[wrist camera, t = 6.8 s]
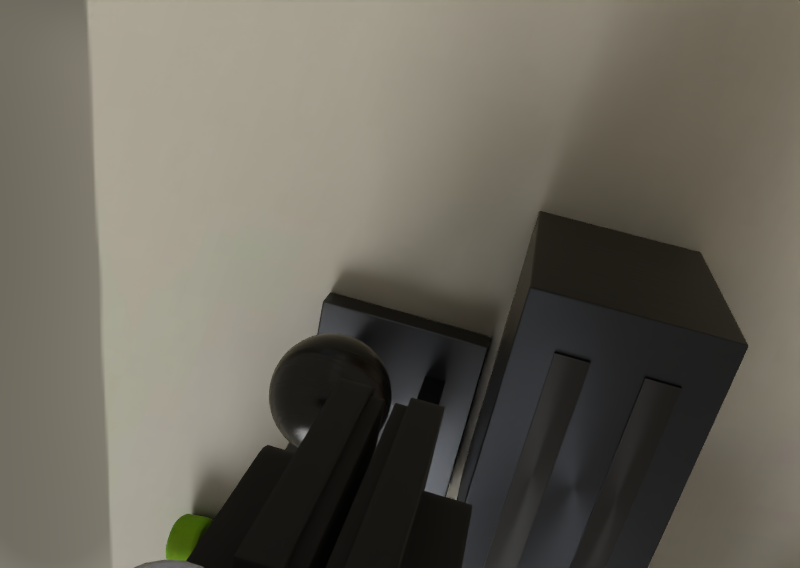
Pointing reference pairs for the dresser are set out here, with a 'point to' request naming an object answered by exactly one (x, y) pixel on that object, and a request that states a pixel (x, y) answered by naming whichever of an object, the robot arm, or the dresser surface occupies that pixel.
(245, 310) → the dresser surface
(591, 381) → the toaster
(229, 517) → the robot arm
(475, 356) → the lever bracket
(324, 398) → the toaster lever
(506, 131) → the dresser surface
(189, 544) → the toy car
